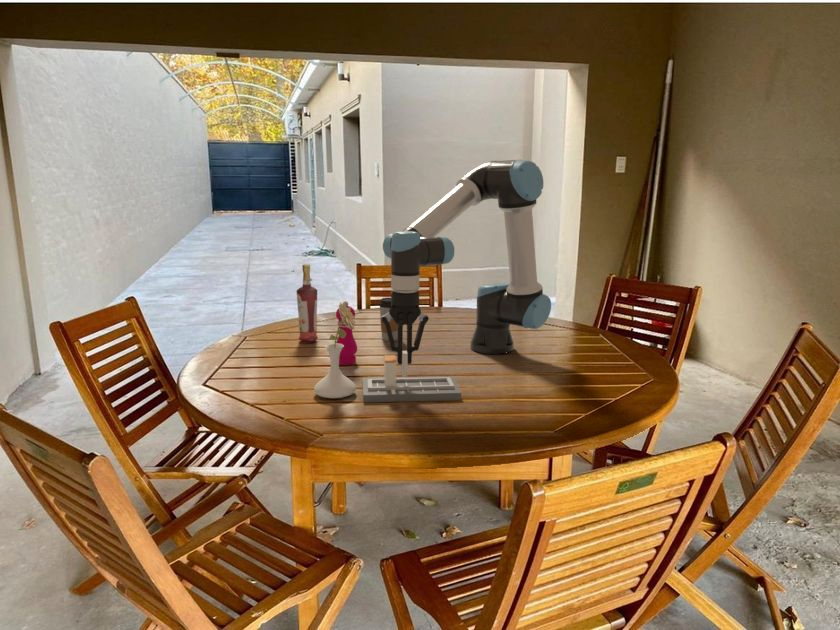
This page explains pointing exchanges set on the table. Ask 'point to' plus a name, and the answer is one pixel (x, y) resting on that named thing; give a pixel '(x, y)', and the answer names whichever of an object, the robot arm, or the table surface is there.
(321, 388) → the flower in vase
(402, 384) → the panel
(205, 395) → the table surface
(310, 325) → the liquor
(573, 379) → the table surface
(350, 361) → the pepper mill
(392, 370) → the fader
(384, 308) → the coffee cup
